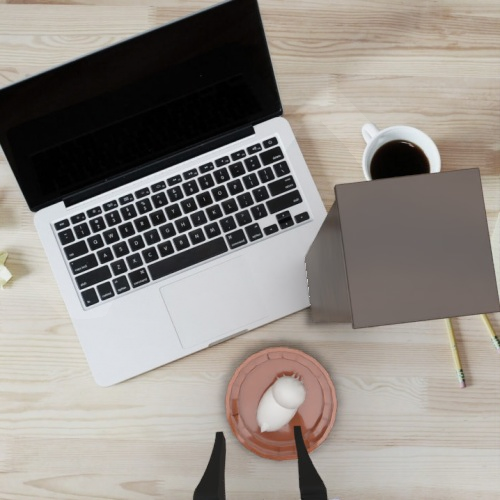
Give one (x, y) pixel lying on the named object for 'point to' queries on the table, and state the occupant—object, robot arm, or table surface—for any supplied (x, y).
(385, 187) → the taupe notched tower
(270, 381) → the bowl
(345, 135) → the table surface
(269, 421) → the toy creature
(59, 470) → the table surface
